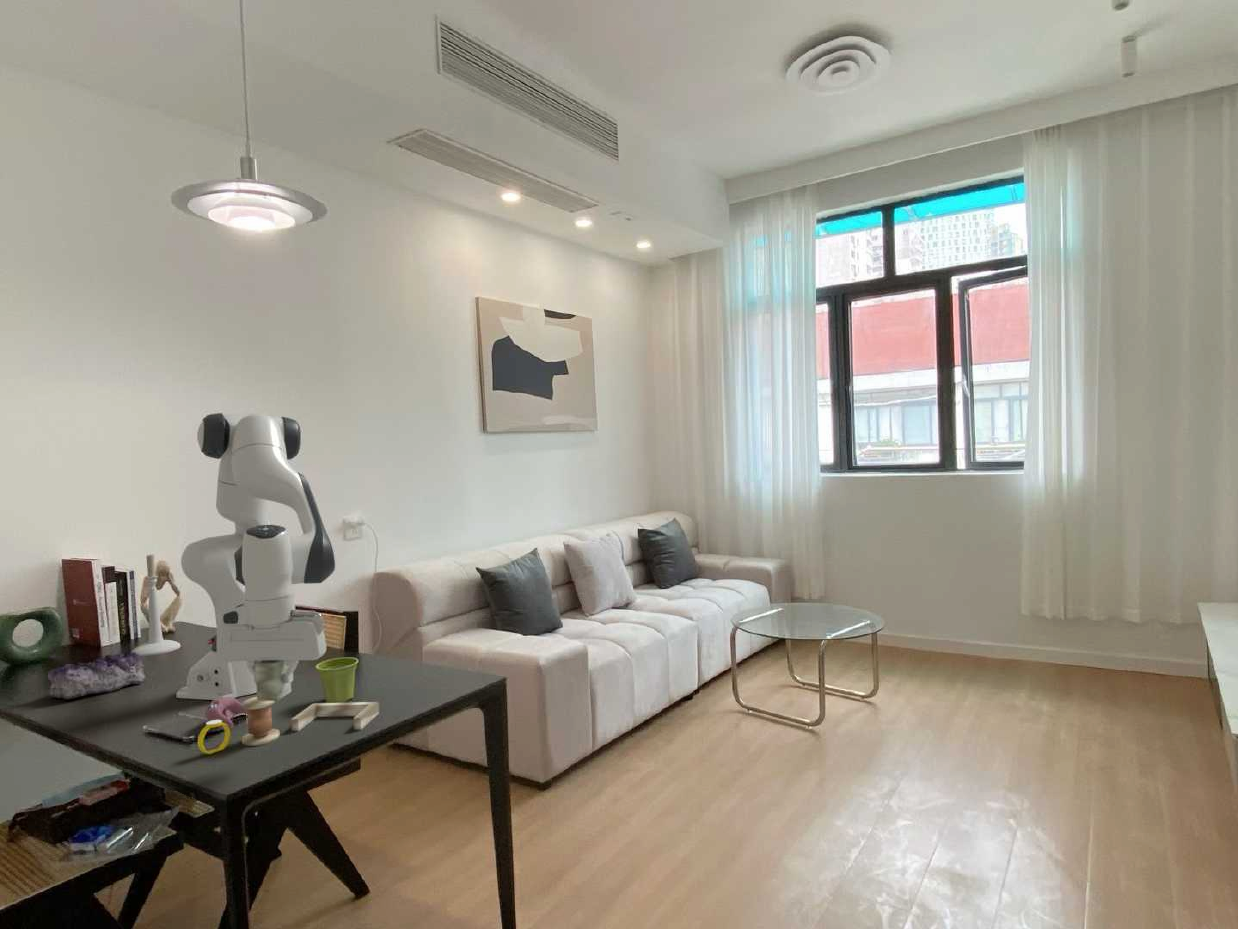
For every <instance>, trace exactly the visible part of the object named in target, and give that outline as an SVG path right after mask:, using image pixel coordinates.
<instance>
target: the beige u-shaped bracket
mask: <svg viewBox="0 0 1238 929" xmlns="http://www.w3.org/2000/svg"><path fill="white" fill-rule="evenodd" d="M379 714H380V704H379V701H362V702H359V701H358V702H357V701H355V702H351V701H350V702H341V703H332V702H330V703H327V702H313V703H312V704H310V705H309V706H307V707H306V708H305V709H303V710H302V711H301V712H299V713H298V714H296V715H295V716H294V717H293V718H291V721H290V722H291V731H292V732H300V731H301V730H303V729H304V728H305V727H306V726H307V725H308V724H310V723H312V722H313V720H315V719H316V718H318V717H319V718H321V717H322V718H323V717H324V718H326V717H353V729H354V731H355V730H356V731H358V730H359V731H361V730H363V729H364V728H365V727H366V726H367V725H368V724H369V723H370V722H371V721H372V720H373V719H374V718H376V717H377V716H378V715H379Z"/></svg>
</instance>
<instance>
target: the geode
mask: <svg viewBox="0 0 1238 929" xmlns="http://www.w3.org/2000/svg"><path fill="white" fill-rule="evenodd" d="M144 668H145V666H144V664H143V662H142V656H139V654H136V653H135V652H133V653H132V651H130V652H129V653H128V654H121V653H119V654H118V655H110V654H107V655H105V657H104V658H102V657H101V656H100V657H98V658H97V659H95V660H93V661H92V662H89V663H83V662H78V661H77V662H76V663H75V664H71V663H66V664H65V665H63V666H62V667H56V668H53V669H51V670H49V671H48V674H47V679H48V680H49V681H50V691H49V697H50V698H58V699H63V700H70V699H76V698H79V697H83V696H89V695H93V694H102V693H112V692H116V691H118V690H120V689H122V688H124V687H126V686H130V685H141V684H143V683H145V682H146V676H145V675H146V674H145V673H144V670H145V669H144Z"/></svg>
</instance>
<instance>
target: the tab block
mask: <svg viewBox="0 0 1238 929" xmlns="http://www.w3.org/2000/svg"><path fill="white" fill-rule="evenodd" d="M288 667H289V666H286V660H285V661H260V662H259V663H257V664H255V668H256V686H257V693H256V697H257V701H275V702H276V701H280V700H281V699H283V698H284V697H285V696H287V695H288V694H290V693H292V682H291V683H282V682H281V680H282V678H281V674H283V673H285V672H286V671H287V669H288Z"/></svg>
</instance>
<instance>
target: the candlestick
mask: <svg viewBox="0 0 1238 929" xmlns="http://www.w3.org/2000/svg"><path fill="white" fill-rule="evenodd" d="M155 563H156V562H155V554H147V555H146V569H147V576H145V577H144V578H145V579H146V583H147V584H148V586H149V587H148V641H147V642H144V643H143V644H140V645H138V646H137V647H135V648H134V649H132V650H131V653H133V652H135V653H136V654H139V656H140V657H148V656H157V655H161V654H167V653H170V652H174V651H175V650H178V649H179V648H181V643H180V642H178V641H175V640H172V639H164V638H163V632H162V624H161V616H160V607H159V601H158V593H157V591H158V590H157V587H156V584H157V582H158V580H157V579H158V577H159V575H156V567H155V566H156V565H155Z"/></svg>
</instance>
